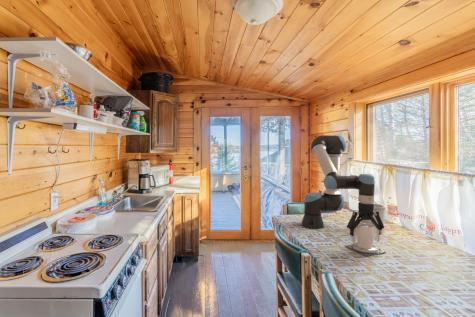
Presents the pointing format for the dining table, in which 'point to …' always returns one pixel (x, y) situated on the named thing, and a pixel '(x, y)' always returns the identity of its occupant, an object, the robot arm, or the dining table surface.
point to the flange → (365, 250)
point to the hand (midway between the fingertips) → (365, 241)
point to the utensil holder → (381, 210)
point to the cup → (365, 235)
